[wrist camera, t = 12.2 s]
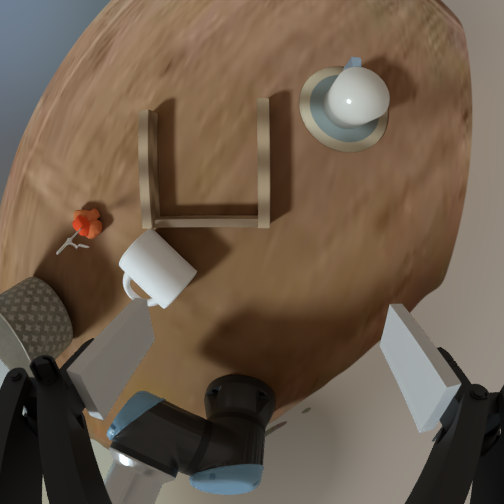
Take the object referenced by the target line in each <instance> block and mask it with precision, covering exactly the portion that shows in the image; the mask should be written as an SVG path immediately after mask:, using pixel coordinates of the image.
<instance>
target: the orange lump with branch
mask: <svg viewBox="0 0 504 504" xmlns="http://www.w3.org/2000/svg"><path fill="white" fill-rule="evenodd" d="M99 217H100V214H99V211H98V210H96V209H92V210H91V211H88V210H76V211H75V213H74V221H73V223H72V224H73V227H74V229H75V230H76V231H77V232H76V233H75V234H74V235H73V236H72V237H71V238H68V239H67V241H66V242H65V244H63V245H62V246H61V248H60V249H59V250H58V251H57V252H56V254H59V253H60V252H61V251H62V250H63V249H64V248H65V247H66V246H67V245H69V244H70V245H73V246H74V247H75V248H76V249H77V248H78V246H81V247H85V248H89V246H86V245H83V244H79V245H78V246H77V245H76V244H74V243H72V239H73V238H74V237H75V236H76V235H77V234H78V233H79V234H80V235H81V236H86V237H87V238H88V239H90V238H91V239H92V238H95V237H96V236H98V234H100V233H101V231H102V224H101V222H100V221H99V220H97V219H98V218H99Z"/></svg>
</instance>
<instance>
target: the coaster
mask: <svg viewBox="0 0 504 504" xmlns="http://www.w3.org/2000/svg"><path fill="white" fill-rule="evenodd" d="M343 68H344V67H330V68H325V69H322V70H320V71H318V72H316V73H315V74H313V75H312V76H311V77H310V78H309V79H308V80H307V81H306V83H305V84H304V86H303V88H302V91H301V94H300V101H299V106H300V113H301V117H302V119H303V122H304V124H305V125H306V127H307V129H308V130H309V132H310V133H311V134H312V135H313V136H314V137H315V138H316V139H317V140H318V141H320V142H321V143H322V144H324V145H326V146H328V147H329V148H332V149H334V150H338V151H343V152H358V151H362V150H365V149H367V148H369V147H371V146H373V145H374V144H375V143H376V142H377V141H378V140H379V139H380V138H381V137H382V135H383V133H384V131H385V129H386V126H387V121H388V111H387V110H386V112H385V113H384V114H383V115H382V116H380V117H378V118H376V119H374V120H372V121H370V122H368V123H366V124H364V125H361V126H359V127H357V128H355V129H342V128H339V127H337V126H335V125H334V124H332V123H331V122H330V121H329V120H328V118H327V117H326V115H325V113H324V110H323V99H324V97H325V95H326V93H327V92H328V90H329V89H330V87H331V86H332V84H333V83H334V82H335V80H336V79H337V77H338V76H339V74H340V73H341V72H342V71H343Z"/></svg>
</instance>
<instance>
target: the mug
mask: <svg viewBox="0 0 504 504" xmlns="http://www.w3.org/2000/svg"><path fill="white" fill-rule="evenodd" d="M119 266H120V267H121V268H122V269H123V270H124V271H125V273H124V276H123V286H124V289H125V291H126V293H127V294H128V296H129V297H130V298H131V299H132V300H133V299H134V298H141V297H140V296H138V295H137V294H136V293H135V292H134V291H133V290H132V289H131V287H130V281H131V278H132V279H133V280H134V281H135V282H136V283H137V284H138V285H139V286H140V287H141V288H142V289H143V290H144V291H145V292H146V293H147V294H148V295H149V296H150V297H152V298H150V299H147V303H148V306H155V305H157V304H159V305H160V306H161V307H162V308H166V307H168V306H169V305H170V304H171V303H172V302H173V301H174V299H175V298H176V297H177V296H178V295H179V294H180V293H181V292H182V291H183V290H184V288H185V287H186V286H187V285H188V284H189V283H190V281H191V280H192V279H193V278H194V276H195V275H196V273H197V271H196V270H195V269H194V268H193V267H192V266H191V265H190V264H189V263H188V262H187V261H186V260H185V259H184V258H183V257H181V256H180V255H179V254H178V253H177V252H176V251H175V250H174V249H173V248H172V247H171V246H170V245H169V244H168V243H167V242H166V241H165V240H164V239H163V238H162V237H161V236H160V235H159V234H158V233H157V232H156V231H155V230H154V229H149V230H147V231H146V232H144V233H143V234H142V235H141V236H139V237H138V238H137V239H136V240H135V241H134V242H133V243H132V244H131V246H130V247H129V248H128V249H127V250H126V252H125V253H124V254H123V256H122V258H121V259H120V261H119ZM142 299H143V298H142Z"/></svg>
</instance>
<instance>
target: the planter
mask: <svg viewBox="0 0 504 504" xmlns="http://www.w3.org/2000/svg"><path fill="white" fill-rule="evenodd" d="M72 339H73V329H72V324H71V321H70V318H69V315H68V313H67V311H66V309H65V307H64V305H63V303H62V301H61V300H60V298H59V297H58V295H57V294H56V293H55V292H54V290H53V289H52V288H51V287H50V286H49V285H48V284H47V283H45V282H44V281H43V280H41V279H39V278H36V277H29V278H27V279H25V280H23V281H22V282H20V283H18V284H17V285H15V286H13V287H12V288H10V289H8V290H7V291H5V292H3V293H2V294H0V359H1V360H2V362H3V363H4V364H5V365H6V367H8V369H9V370H12V369H14V368H18V367H21V368H24V369H25V370H26V372H27V374H28V375H29V377H34V375H33V373H32V371H31V369H30V367H29V366H30V363H31V362H32V361H33V359H35V358H37V357H39V356H41V355H50V356H52V357H53V358H54V359H56V358H57V357H58V356H59V355H60V354H61V353H62V352H63V351H64V350H65V349H66V348H67V347H68V346H69V345H70V344H71V342H72Z"/></svg>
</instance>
